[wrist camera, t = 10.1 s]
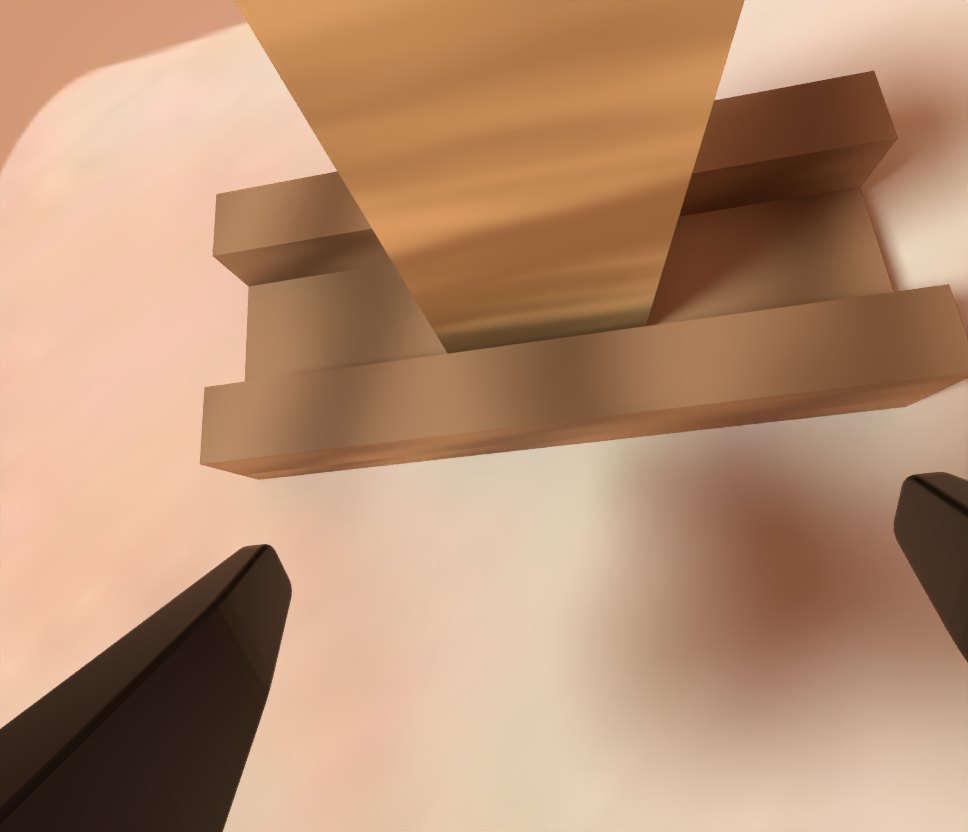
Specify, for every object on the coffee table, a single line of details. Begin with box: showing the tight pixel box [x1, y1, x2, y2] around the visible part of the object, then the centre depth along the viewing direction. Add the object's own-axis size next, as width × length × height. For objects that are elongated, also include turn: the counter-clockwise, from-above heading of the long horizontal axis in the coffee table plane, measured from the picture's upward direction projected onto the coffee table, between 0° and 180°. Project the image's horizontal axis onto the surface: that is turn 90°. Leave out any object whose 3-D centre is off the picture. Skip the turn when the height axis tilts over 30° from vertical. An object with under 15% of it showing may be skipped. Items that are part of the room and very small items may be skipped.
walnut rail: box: [200, 71, 968, 480], centre depth 17 cm, size 20×9×3 cm, turn 94°
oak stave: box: [234, 0, 744, 354], centre depth 11 cm, size 3×6×13 cm, turn 94°
